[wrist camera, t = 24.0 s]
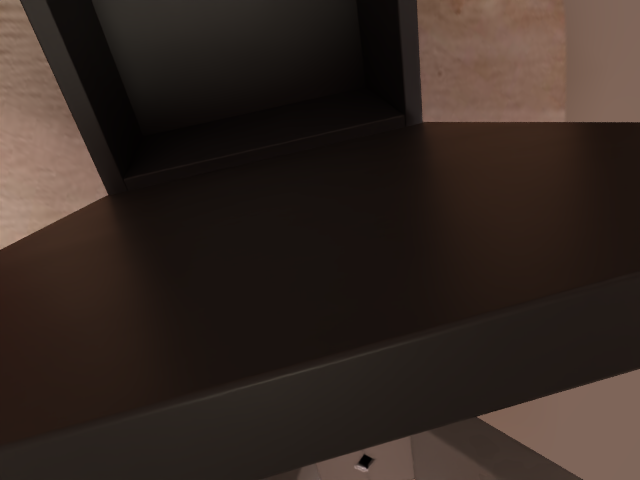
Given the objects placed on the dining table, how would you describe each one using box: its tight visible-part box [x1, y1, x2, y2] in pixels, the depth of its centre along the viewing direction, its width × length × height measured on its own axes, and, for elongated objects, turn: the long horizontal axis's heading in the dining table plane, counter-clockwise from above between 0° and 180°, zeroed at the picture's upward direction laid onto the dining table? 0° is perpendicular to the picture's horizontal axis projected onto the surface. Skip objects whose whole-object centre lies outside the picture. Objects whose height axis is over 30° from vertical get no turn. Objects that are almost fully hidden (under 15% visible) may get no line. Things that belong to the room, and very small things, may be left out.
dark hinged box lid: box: [0, 122, 640, 480], centre depth 11 cm, size 16×14×1 cm
